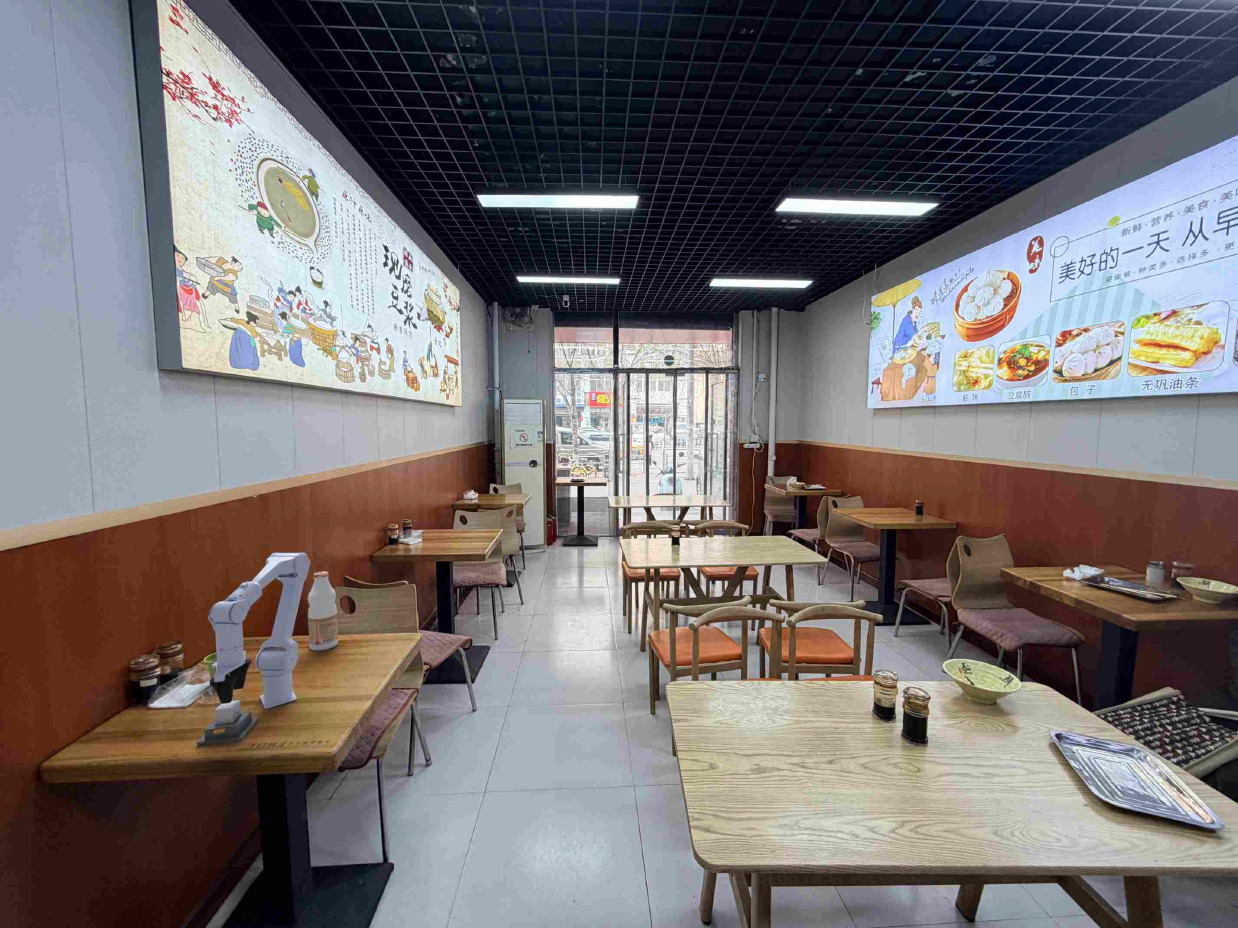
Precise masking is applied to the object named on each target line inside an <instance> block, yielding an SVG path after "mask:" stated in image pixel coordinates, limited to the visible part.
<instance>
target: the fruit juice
mask: <svg viewBox="0 0 1238 928" xmlns="http://www.w3.org/2000/svg"><path fill="white" fill-rule="evenodd" d="M329 575H330V573H329V572H328V571H317V572H314V573H313V576H312V577H313V579H314V582H313V584H312V586H311V589H310V591H309V593H308V595H307V601H308V604H309V607H308V609H307V612H308V613H307V621H308V646H309V648H310V650H311V651H325V650H330V649H331V648H335V647H336V646H337V645H338V642H339V633H338V632H339V630H338V609H337V605H336V597H337V595H336V594H337V593H336V590H335V589H334V588H333V587H332V585H331V582H330V581H329Z"/></svg>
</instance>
